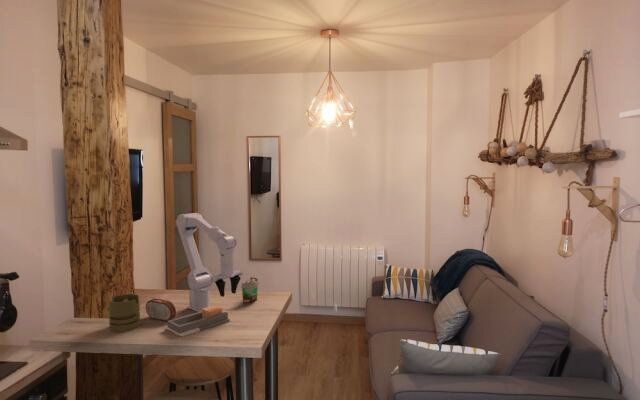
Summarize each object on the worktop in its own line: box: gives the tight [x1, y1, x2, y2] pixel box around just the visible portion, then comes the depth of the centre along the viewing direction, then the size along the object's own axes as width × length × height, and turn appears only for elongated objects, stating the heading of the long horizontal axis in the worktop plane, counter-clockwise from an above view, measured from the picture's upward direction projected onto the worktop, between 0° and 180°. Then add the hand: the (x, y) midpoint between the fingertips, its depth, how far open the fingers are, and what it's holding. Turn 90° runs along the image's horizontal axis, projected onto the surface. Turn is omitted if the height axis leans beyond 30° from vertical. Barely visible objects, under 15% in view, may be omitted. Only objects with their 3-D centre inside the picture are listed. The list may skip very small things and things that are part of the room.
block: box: [202, 305, 223, 318], centre depth 178 cm, size 6×6×4 cm
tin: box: [145, 297, 177, 322], centre depth 180 cm, size 15×3×8 cm, turn 65°
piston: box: [108, 293, 141, 333], centre depth 171 cm, size 11×12×11 cm
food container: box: [241, 276, 260, 304], centre depth 204 cm, size 12×6×10 cm, turn 168°
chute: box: [165, 311, 230, 337], centre depth 174 cm, size 12×22×4 cm, turn 136°
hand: (227, 294), depth 183 cm, fingers open, 5 cm apart
